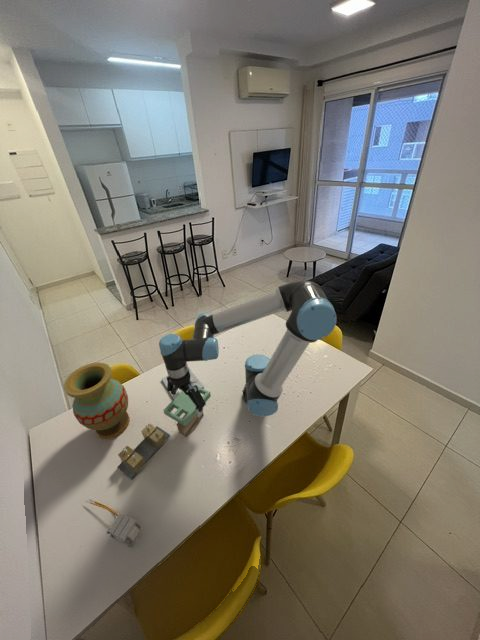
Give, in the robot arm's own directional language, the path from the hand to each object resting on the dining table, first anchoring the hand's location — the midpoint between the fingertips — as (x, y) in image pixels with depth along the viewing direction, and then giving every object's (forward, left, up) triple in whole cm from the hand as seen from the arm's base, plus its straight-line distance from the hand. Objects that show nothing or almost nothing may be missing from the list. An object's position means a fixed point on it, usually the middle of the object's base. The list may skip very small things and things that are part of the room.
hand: (189, 408), depth 107 cm
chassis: (+8, +19, -10) cm, 24 cm away
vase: (+30, +18, -11) cm, 37 cm away
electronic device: (+19, -15, -11) cm, 27 cm away
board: (0, 0, +3) cm, 3 cm away
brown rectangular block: (0, 0, -10) cm, 10 cm away
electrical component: (0, +42, -11) cm, 43 cm away
